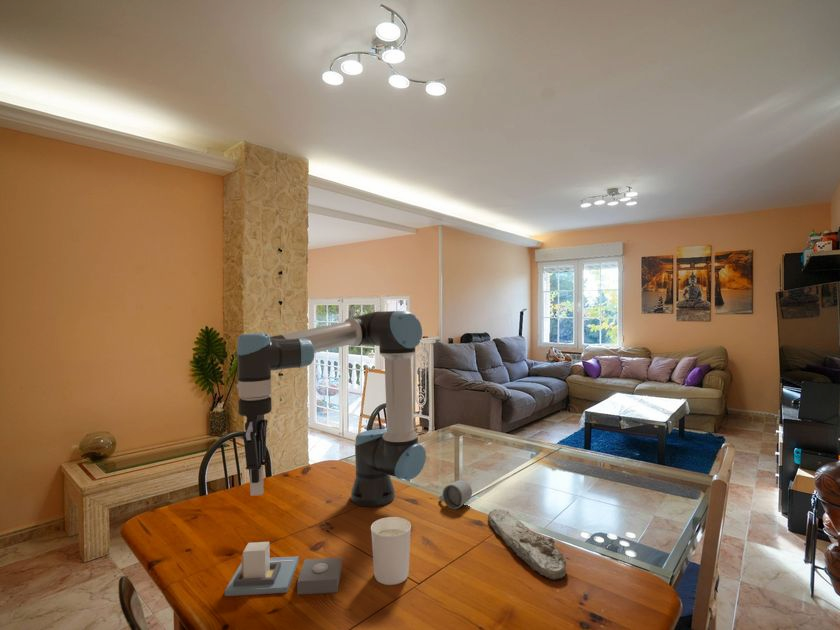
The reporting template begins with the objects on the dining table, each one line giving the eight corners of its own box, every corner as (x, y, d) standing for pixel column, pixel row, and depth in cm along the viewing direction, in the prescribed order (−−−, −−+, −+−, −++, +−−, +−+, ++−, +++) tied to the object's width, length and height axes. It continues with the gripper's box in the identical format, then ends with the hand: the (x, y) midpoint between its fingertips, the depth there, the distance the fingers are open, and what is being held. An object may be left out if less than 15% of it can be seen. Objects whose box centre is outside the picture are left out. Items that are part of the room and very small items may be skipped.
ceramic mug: (473, 502, 148) (473, 479, 148) (462, 511, 141) (461, 487, 141) (446, 496, 154) (445, 474, 154) (434, 504, 147) (433, 481, 147)
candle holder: (417, 567, 110) (416, 519, 110) (402, 590, 101) (402, 538, 101) (381, 560, 114) (380, 514, 114) (364, 583, 104) (363, 532, 104)
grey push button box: (341, 569, 110) (341, 555, 110) (337, 592, 101) (337, 577, 101) (304, 571, 109) (304, 557, 109) (297, 594, 100) (297, 579, 100)
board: (298, 560, 114) (298, 551, 114) (287, 592, 101) (287, 582, 101) (243, 563, 113) (243, 554, 113) (224, 596, 100) (224, 585, 100)
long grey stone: (508, 519, 139) (479, 526, 136) (507, 502, 139) (478, 509, 136) (579, 576, 105) (543, 586, 102) (577, 554, 105) (541, 563, 102)
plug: (269, 570, 108) (269, 541, 108) (265, 579, 104) (265, 550, 104) (245, 571, 107) (245, 542, 107) (240, 581, 103) (239, 551, 103)
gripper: (247, 392, 113) (249, 484, 113) (229, 403, 100) (232, 506, 100) (277, 391, 113) (279, 482, 114) (263, 402, 100) (265, 504, 101)
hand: (257, 493), depth 107 cm, fingers closed
